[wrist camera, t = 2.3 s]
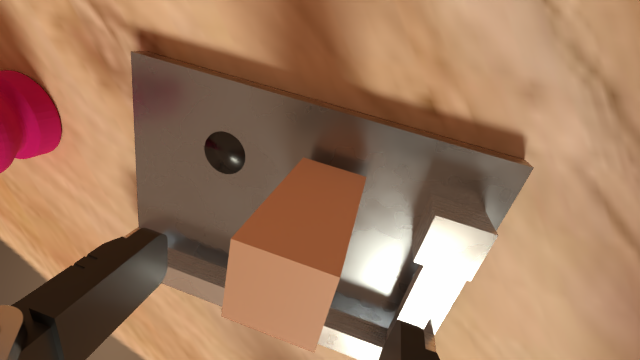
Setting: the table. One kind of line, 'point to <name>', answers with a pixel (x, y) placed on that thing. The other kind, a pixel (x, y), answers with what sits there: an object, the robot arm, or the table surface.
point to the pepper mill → (25, 119)
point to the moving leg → (293, 254)
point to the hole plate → (328, 148)
